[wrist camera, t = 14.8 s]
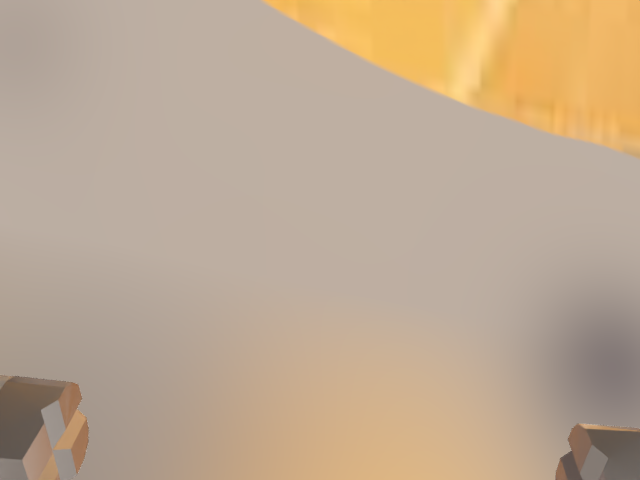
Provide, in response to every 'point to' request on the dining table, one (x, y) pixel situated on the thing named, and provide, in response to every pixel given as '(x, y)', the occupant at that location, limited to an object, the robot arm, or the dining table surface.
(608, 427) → the robot arm
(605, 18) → the dining table surface
